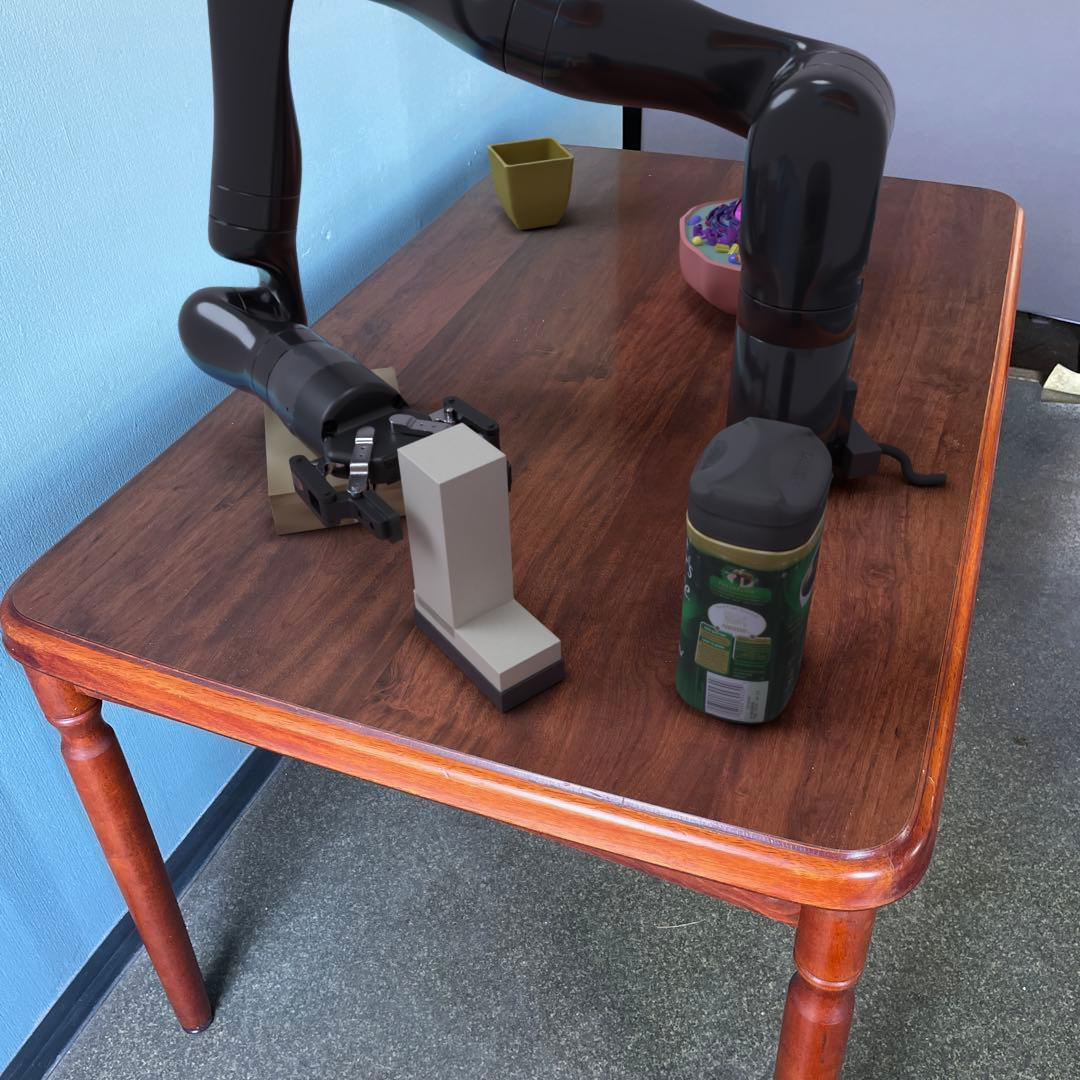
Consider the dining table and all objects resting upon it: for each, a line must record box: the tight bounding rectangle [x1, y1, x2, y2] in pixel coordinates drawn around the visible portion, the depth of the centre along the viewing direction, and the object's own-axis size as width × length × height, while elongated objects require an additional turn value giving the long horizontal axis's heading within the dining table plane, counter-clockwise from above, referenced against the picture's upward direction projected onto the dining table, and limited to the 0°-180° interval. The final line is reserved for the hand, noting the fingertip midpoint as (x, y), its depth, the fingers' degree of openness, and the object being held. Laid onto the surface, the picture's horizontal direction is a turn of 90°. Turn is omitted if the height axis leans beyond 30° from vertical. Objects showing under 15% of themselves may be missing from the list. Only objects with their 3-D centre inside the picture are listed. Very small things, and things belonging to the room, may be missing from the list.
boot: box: [397, 423, 565, 714], centre depth 71 cm, size 11×5×16 cm, turn 37°
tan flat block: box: [263, 366, 406, 536], centre depth 93 cm, size 12×18×4 cm, turn 13°
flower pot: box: [487, 136, 575, 231], centre depth 134 cm, size 9×9×9 cm
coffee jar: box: [675, 417, 833, 725], centre depth 67 cm, size 10×8×19 cm
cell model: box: [678, 195, 742, 317], centre depth 114 cm, size 17×20×11 cm
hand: (453, 506), depth 71 cm, fingers open, 8 cm apart
